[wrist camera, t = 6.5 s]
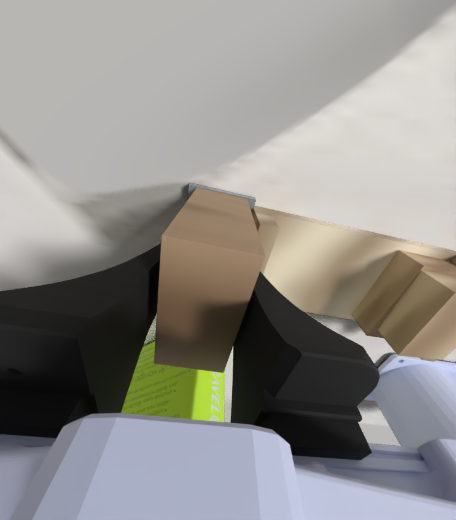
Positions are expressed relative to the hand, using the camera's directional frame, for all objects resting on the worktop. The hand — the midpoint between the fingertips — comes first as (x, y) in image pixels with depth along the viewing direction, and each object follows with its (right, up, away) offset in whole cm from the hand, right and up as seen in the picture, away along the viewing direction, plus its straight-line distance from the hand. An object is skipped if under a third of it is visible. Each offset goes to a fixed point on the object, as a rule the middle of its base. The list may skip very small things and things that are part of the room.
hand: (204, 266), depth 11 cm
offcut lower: (+14, -2, +4) cm, 14 cm away
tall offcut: (0, +2, +2) cm, 3 cm away
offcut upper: (+14, -3, +2) cm, 14 cm away
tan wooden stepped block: (+9, -1, +4) cm, 10 cm away
